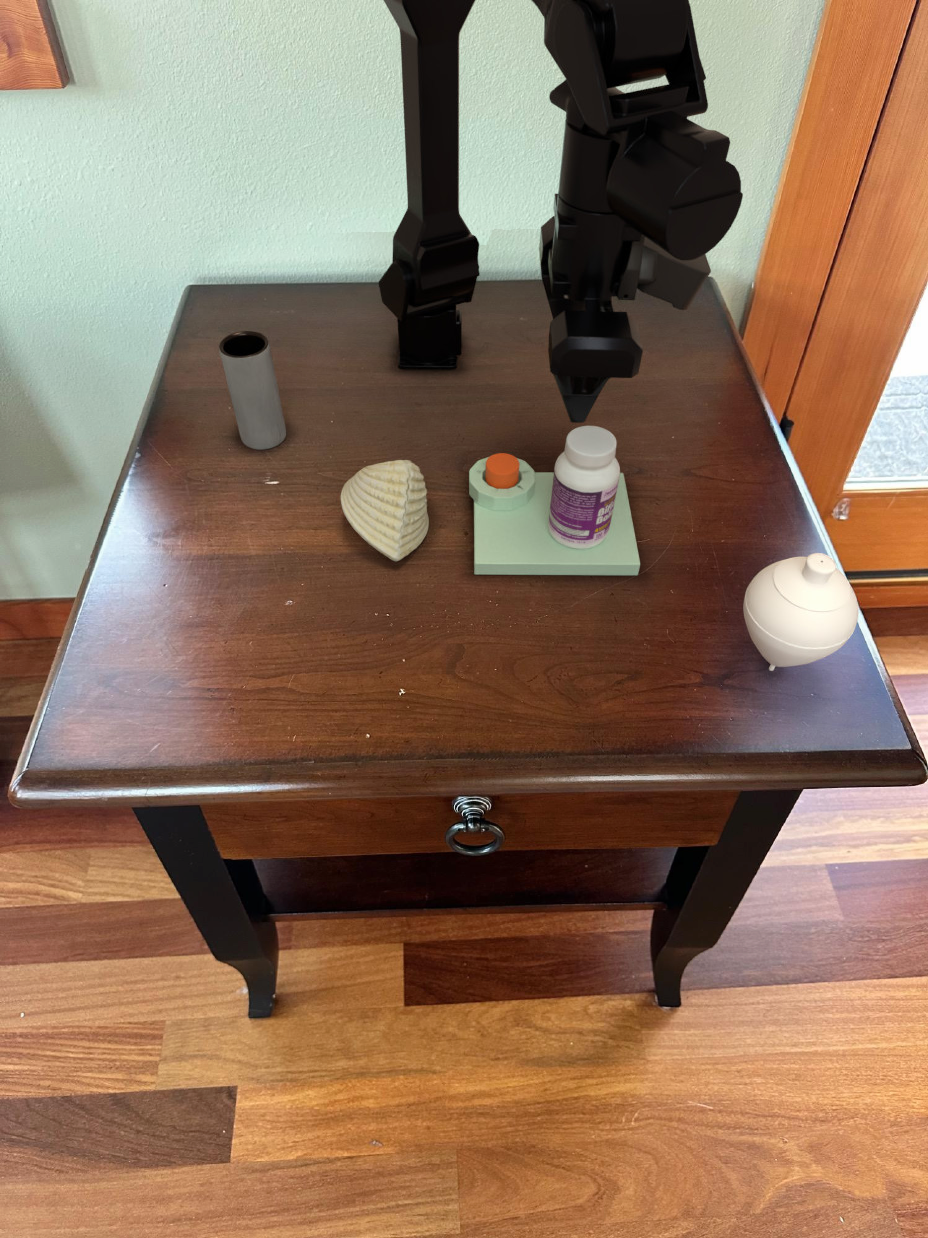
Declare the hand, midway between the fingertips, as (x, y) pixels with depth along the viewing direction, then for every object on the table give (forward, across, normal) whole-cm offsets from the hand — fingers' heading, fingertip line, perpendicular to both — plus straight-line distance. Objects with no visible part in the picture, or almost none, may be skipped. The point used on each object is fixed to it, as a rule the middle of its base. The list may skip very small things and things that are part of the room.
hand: (573, 387), depth 70 cm
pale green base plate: (+11, -5, +1) cm, 12 cm away
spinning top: (+11, -21, -15) cm, 28 cm away
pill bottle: (+10, -7, -1) cm, 12 cm away
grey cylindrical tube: (+12, +8, +29) cm, 32 cm away
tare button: (+9, -1, +6) cm, 11 cm away
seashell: (+12, -5, +16) cm, 20 cm away
